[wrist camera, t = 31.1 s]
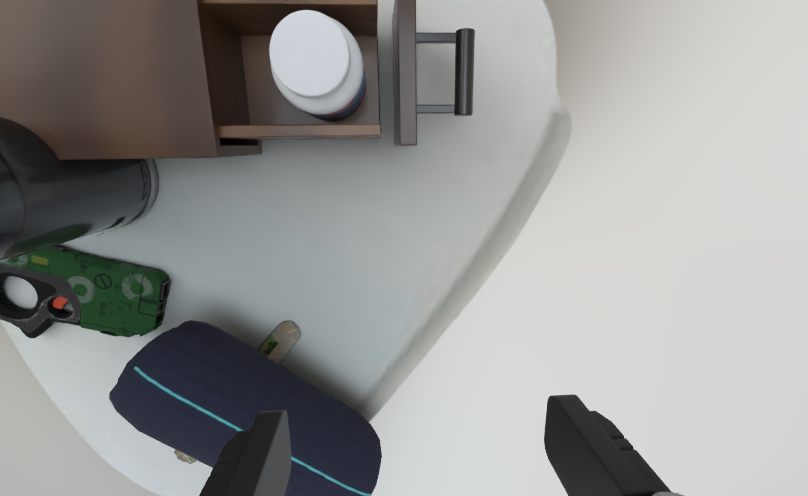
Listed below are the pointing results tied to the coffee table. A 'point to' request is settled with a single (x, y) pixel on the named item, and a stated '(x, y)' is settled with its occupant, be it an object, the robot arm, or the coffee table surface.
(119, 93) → the cabinet
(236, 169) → the coffee table surface
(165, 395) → the portable speaker
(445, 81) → the coffee table surface
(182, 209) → the coffee table surface
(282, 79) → the pill bottle
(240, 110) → the drawer
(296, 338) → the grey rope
